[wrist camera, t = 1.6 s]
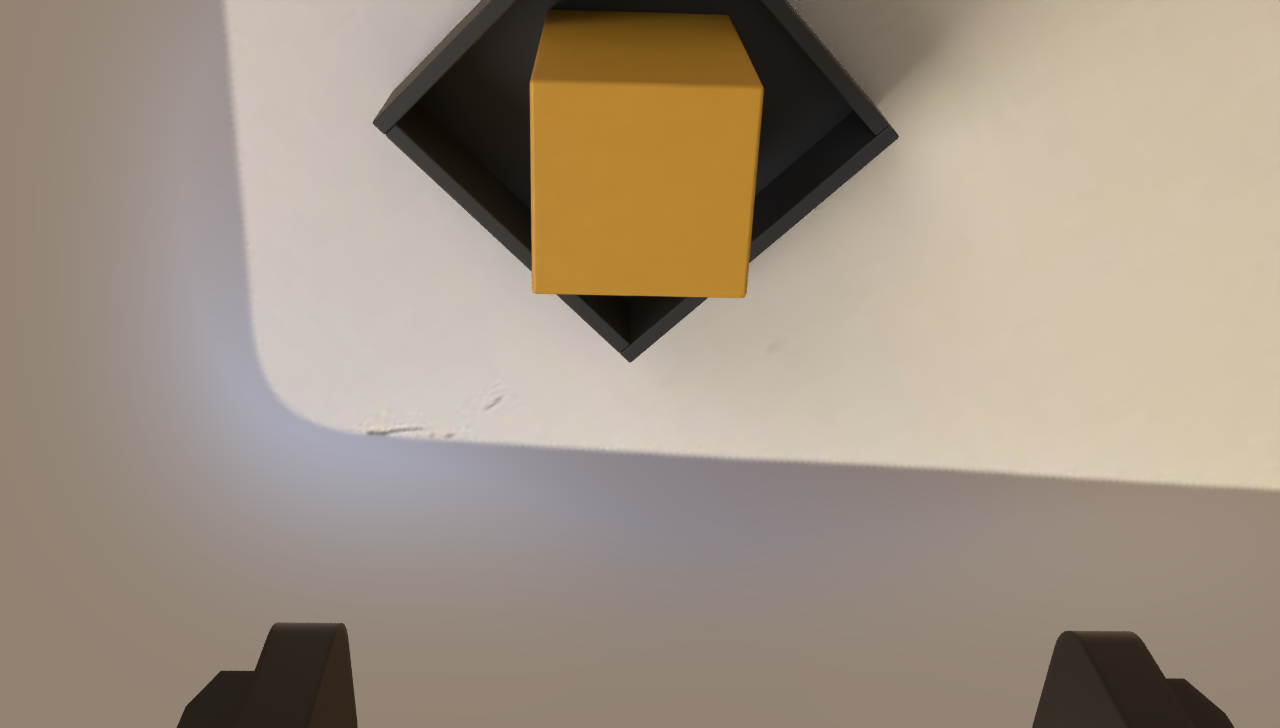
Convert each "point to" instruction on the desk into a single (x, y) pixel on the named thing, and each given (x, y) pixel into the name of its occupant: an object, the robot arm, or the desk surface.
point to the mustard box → (642, 155)
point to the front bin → (500, 132)
